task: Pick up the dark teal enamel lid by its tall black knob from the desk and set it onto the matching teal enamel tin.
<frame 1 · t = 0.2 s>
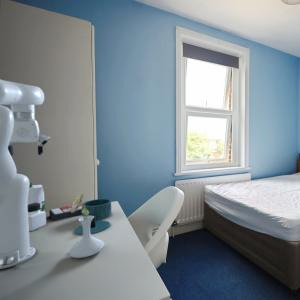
hand: (25, 155, 94), 37 cm above the table, tool pointing down, fingers open, 9 cm apart
lid: (93, 227, 101), point 1 cm above the table
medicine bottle: (33, 228, 102), on the table
tin: (97, 217, 116), on the table
milk carton: (34, 219, 112), on the table
calculator: (68, 215, 118), on the table
flower in vase: (86, 254, 80), on the table
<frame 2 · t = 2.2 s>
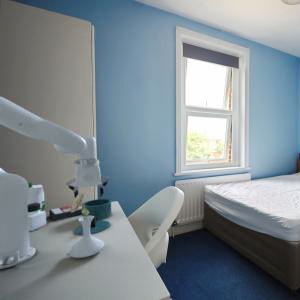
hand: (89, 197, 100), 16 cm above the table, tool pointing down, fingers open, 9 cm apart
nothing on the table moved.
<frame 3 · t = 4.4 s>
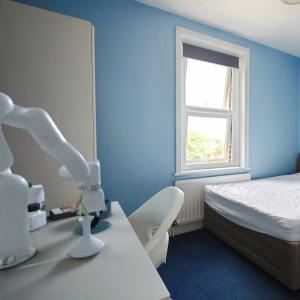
hand: (93, 224, 101), 2 cm above the table, tool pointing down, fingers closed on lid, 2 cm apart
lid: (93, 227, 101), point 1 cm above the table, touching gripper
everything else where it was.
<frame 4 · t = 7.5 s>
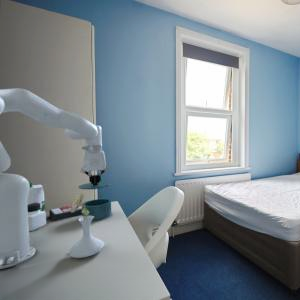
hand: (95, 182, 110), 20 cm above the table, tool pointing down, fingers closed on lid, 2 cm apart
lid: (95, 185, 110), point 19 cm above the table, touching gripper
everything else where it was.
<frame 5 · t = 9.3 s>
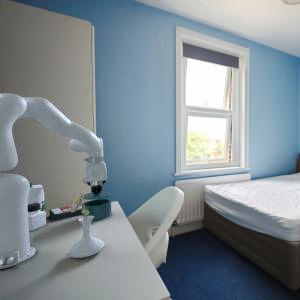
hand: (96, 192, 115), 14 cm above the table, tool pointing down, fingers closed on lid, 2 cm apart
lid: (96, 195, 115), point 12 cm above the table, touching gripper
everything else where it was.
when the fingers open (10 cm above the table, at t = 10.4 s): lid stays where it is, resting on tin.
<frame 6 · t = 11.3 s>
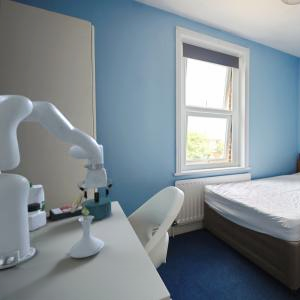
hand: (96, 197, 115), 11 cm above the table, tool pointing down, fingers open, 9 cm apart
lid: (97, 202, 115), point 8 cm above the table, touching tin
everything else where it was.
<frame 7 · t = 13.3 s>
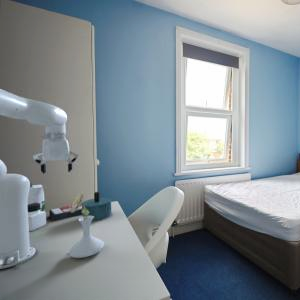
hand: (57, 172, 100), 28 cm above the table, tool pointing down, fingers open, 9 cm apart
nothing on the table moved.
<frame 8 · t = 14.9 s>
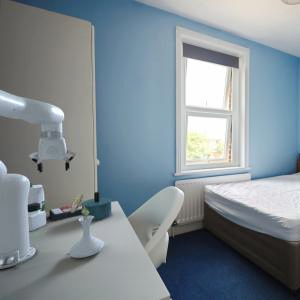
hand: (54, 171, 100), 28 cm above the table, tool pointing down, fingers open, 9 cm apart
nothing on the table moved.
at the end: lid 0.1 cm off-centre on the tin, point 8.4 cm above the tin's base; lid tilted 0°; the gripper is holding nothing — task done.
